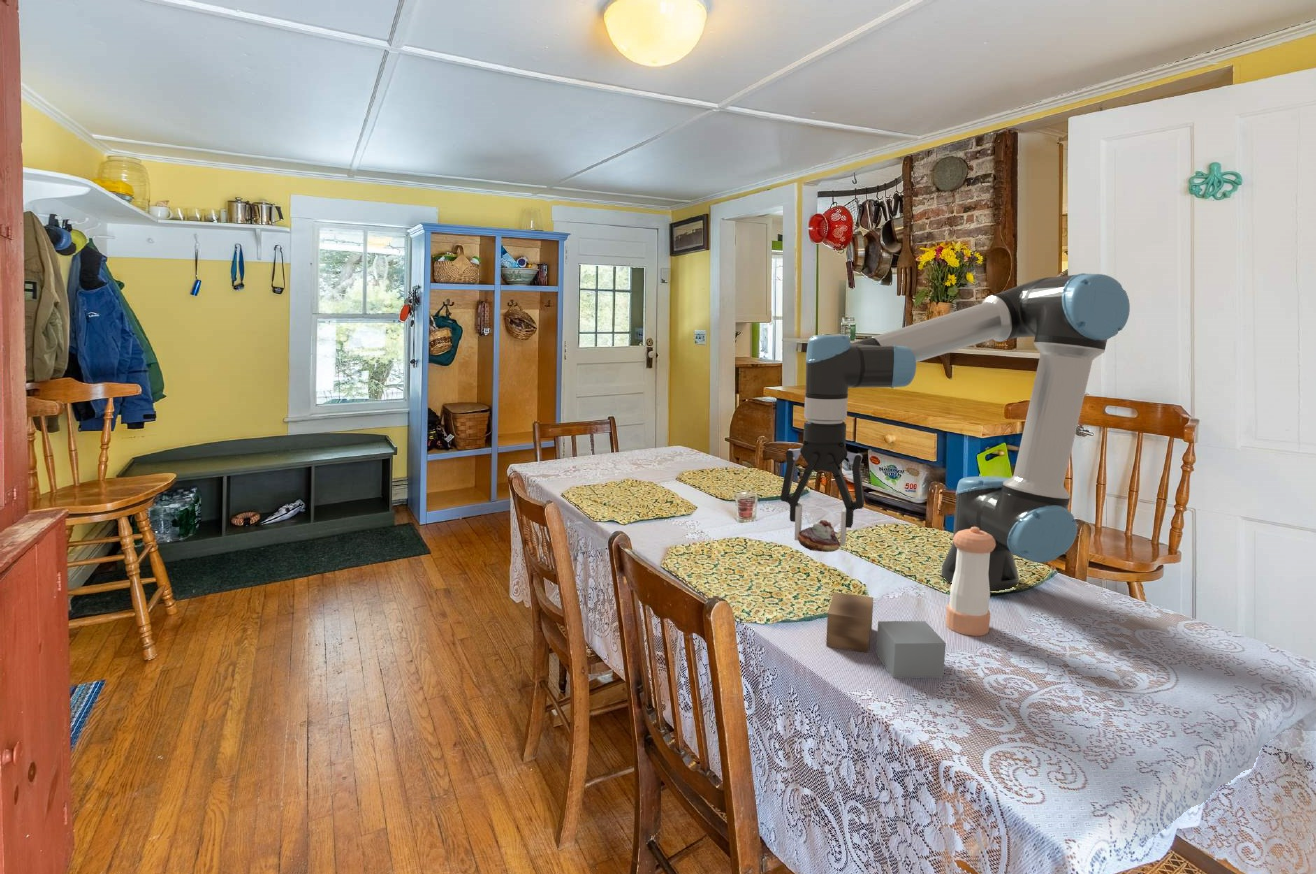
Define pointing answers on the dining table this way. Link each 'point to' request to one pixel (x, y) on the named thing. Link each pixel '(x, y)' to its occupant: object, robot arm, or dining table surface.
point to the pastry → (819, 537)
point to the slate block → (910, 649)
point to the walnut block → (849, 622)
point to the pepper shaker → (970, 583)
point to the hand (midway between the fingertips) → (820, 540)
